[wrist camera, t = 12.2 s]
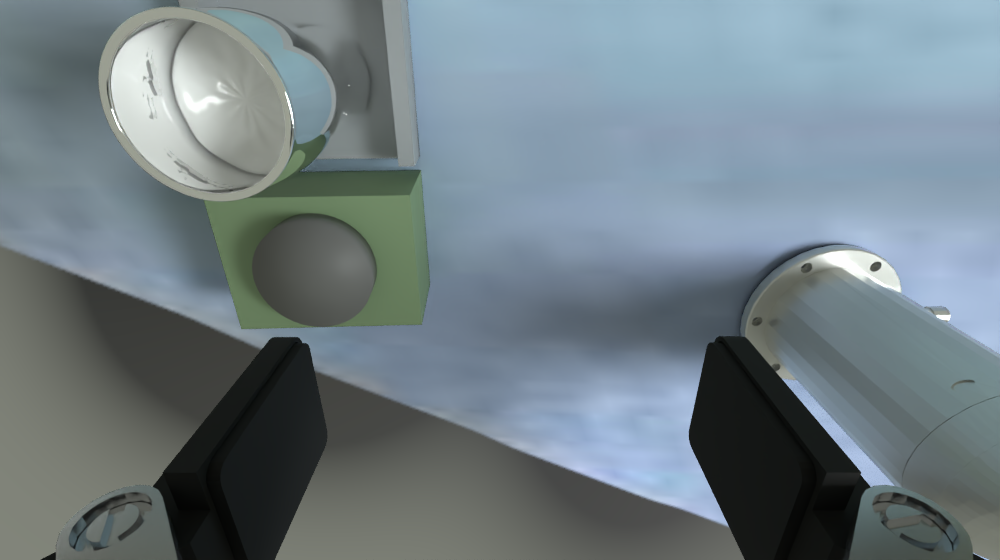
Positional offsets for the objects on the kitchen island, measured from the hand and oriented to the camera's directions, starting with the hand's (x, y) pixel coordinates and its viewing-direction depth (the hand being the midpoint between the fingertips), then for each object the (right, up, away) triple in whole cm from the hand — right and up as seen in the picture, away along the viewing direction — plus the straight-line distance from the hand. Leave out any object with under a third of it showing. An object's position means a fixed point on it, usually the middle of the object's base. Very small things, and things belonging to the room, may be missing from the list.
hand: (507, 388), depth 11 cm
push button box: (-12, +12, +21) cm, 27 cm away
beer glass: (-11, +15, +19) cm, 27 cm away
